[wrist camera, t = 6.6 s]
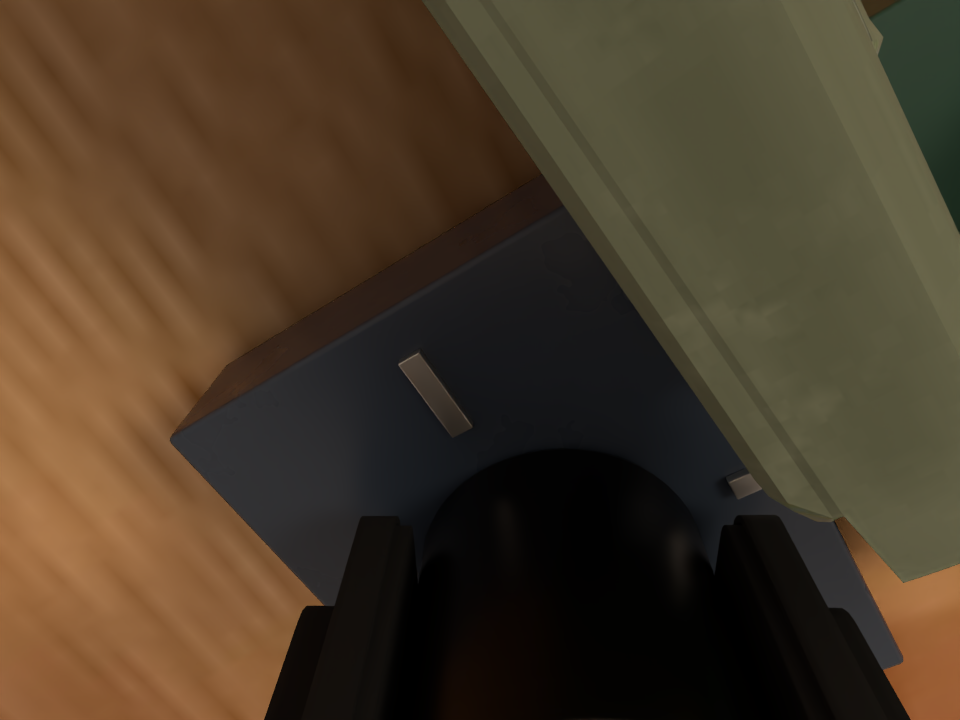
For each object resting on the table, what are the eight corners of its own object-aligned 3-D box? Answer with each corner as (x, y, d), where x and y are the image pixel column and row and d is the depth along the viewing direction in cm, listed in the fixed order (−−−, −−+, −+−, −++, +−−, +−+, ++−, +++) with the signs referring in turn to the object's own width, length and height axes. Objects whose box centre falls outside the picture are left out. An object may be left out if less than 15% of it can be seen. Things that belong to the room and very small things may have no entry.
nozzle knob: (432, 658, 12) (392, 1002, 8) (413, 448, 10) (347, 753, 6) (686, 659, 12) (782, 1013, 8) (714, 444, 10) (864, 758, 6)
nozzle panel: (212, 373, 13) (145, 454, 11) (638, 113, 11) (675, 144, 8) (496, 698, 17) (494, 814, 14) (860, 556, 14) (930, 665, 12)
